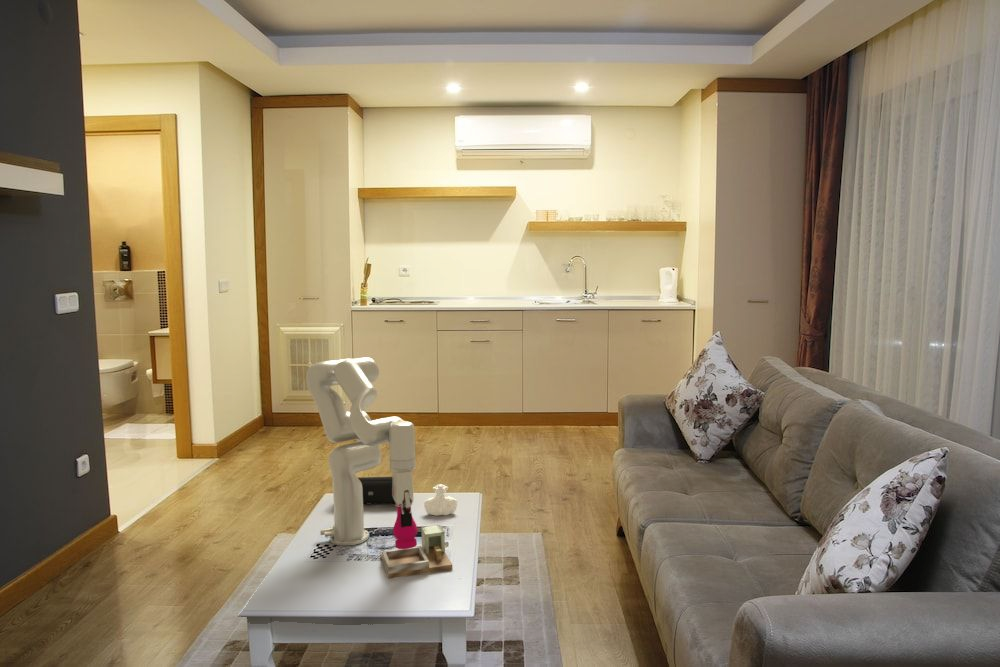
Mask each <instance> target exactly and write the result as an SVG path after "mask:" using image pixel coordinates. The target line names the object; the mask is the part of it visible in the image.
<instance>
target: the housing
mask: <svg viewBox="0 0 1000 667" xmlns="http://www.w3.org/2000/svg"><path fill="white" fill-rule="evenodd" d="M445 535H446V534H445V531H444V528H443V527H442V526H441V525H440V524H438V525H431V526H430V525H429V526H428V525H427V526H422V527H421V547H422V548H423V550H424V552H425V554H429V547H431V546H439V547H440V549H441V550H442V552H445V553H446V544H445V543H446V542H445V541H446V539H445V538H446V537H445Z"/></svg>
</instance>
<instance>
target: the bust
mask: <svg viewBox="0 0 1000 667" xmlns="http://www.w3.org/2000/svg"><path fill="white" fill-rule="evenodd" d="M448 489H449V486H446V485H445V484H442V483H438V484H436V485H435V486H433V487H432V490H433V491H434V493H435V496H432V497H430V498H427V499H426V500H424V502H423V504H424V506H423V507H424V510H425V512H426V514H427V515H432V516H435V517H437V516H449V515H451V514H455V512H456V511H457V507H458V500H457V499H456V498H454V497H452V496H446V494H445V493H447V491H448Z"/></svg>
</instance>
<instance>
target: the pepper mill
mask: <svg viewBox="0 0 1000 667" xmlns="http://www.w3.org/2000/svg"><path fill="white" fill-rule="evenodd" d="M393 496H394V491H393ZM395 503H396V502H395ZM403 503H405V501H403ZM412 505H413V503H411V506H412ZM394 506H395V507H396V520H395V521H394V525H393V529H392V530H393V531H392V535H393V536H394V538H395V539H396V540H395V541H394V542H395V543H394V544H395V548H396V549H408V548H413V547H416V546H417V545H418V544H417V538H416V536H417V535H418V533H419V532H418V531H419V530H418V526H417V523H416V521H415V520H414V517H413V516H412V526H406V527H401V514H402V512H401V504H399V505H397V504H394ZM404 507H405V505H403V508H404Z"/></svg>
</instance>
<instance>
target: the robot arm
mask: <svg viewBox="0 0 1000 667" xmlns="http://www.w3.org/2000/svg"><path fill="white" fill-rule="evenodd" d="M379 374H380V370H379V366H378V364H377V363H376V361H375V360H374V359H373V358H371V357H369V356H368V357H367V356H365V357H348V358H340V359H332V360H323V361H319V362H315V363H313V364H312V365H310V366H309V367H308V369H307V370H306V378H305V379H306V386H307V390H308V392H309V393H310V396H311V398H312V399H313V401H314V403H315V405H316V407H317V410H318V413H319V417H320V421H321V424H322V427H323V431H324V433H325V436H326V439H327V440H328V441H329V442H331V444H333V443H334V444H336V443H344V442H348V441H352V440H356V442H352V443H347V444H344V445H339V446H337V447H335V448H333V449H332V450H331V451H330V452H329V455H328V463H329V470H330V474H331V478H332V479H331V480H332V494H333V518H334V519H333V520H334V522H333V524H332V526H330V527H329V528H319V530H320V531H319V532H320V536H324V537H325V538H326V537H330V538H329V541H330V542H331V543H333V544H334V545H337V546H344V547H345V546H354V545H359V544H362V543H364V542H366V541H367V540H368V539H369V538H368V537H370V533H369V531H368V530H366V529H365V525H364V524H365V521H364V519H365V518H364V517H365V516H364V515H365V514H364V504H363V487H362V483H361V481H360V480H359V479H358V478H359V477H358V476H357V475H356V473H360V472H362V471H363V472H364V471H366V470H370V469H374V468H376V467H378V466H379V465H380V464H381V461H382V451H381V450H382V449H381V447H380V445H383V444H388V447H389V448H388V450H389V470H390V471H392V476H391V477H392V496H393V491H394V496H393V499H394V501H395V502H396V504H397V505H399V504H401V512H402V514H401V527H406V526H412V517H413V514H412V505H411V503H412V504H413V503H414V477H413V470H416V438H415V437H416V436H415V424H414V423H413V422H411V421H408V420H404V419H402V418H401V417H399V416H397V415H396V416H395V415H394V416H387V417H381V418H377V419H373V420H372V419H371V417H370V416H369V414H368V413H367V412H366V411H364V410H365V409H366V408H369V406H370V405H372V404H373V403H374V402H375V401H376V399H377V395H378V393H377V392H378V391H377V389H376V388H375V386H374V385H373V382H375V381H376V380H377V379H378V378H379ZM332 386H340V388H341V390H342V391H343V393H344V394H345V395H346V397H347V398H348V400H349V401H350V403H351V406H350V411H348V410H347V409H346V407H345V404H344V400H343V398H342V397H341V395H340V394H338V392H337V391H335V390H334V389H333V388H331V387H332ZM403 501H405V503H403ZM396 504H395V505H396ZM403 505H405V507H404V508H403Z"/></svg>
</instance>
